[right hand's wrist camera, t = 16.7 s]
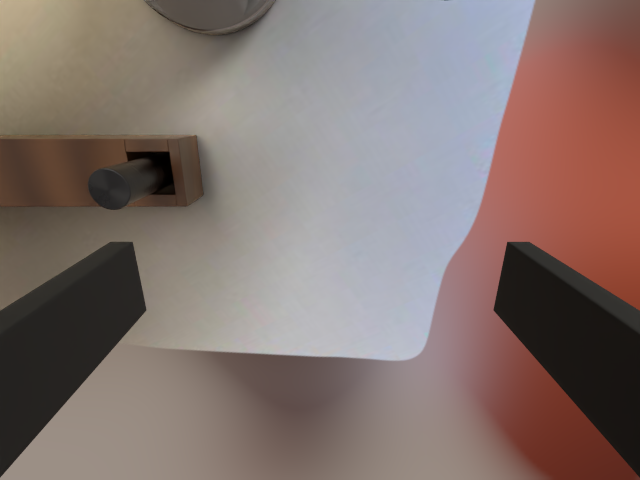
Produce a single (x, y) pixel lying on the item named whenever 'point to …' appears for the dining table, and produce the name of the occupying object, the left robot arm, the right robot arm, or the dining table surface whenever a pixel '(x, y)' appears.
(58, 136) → the peg rail
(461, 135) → the dining table surface
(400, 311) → the dining table surface
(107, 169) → the peg
